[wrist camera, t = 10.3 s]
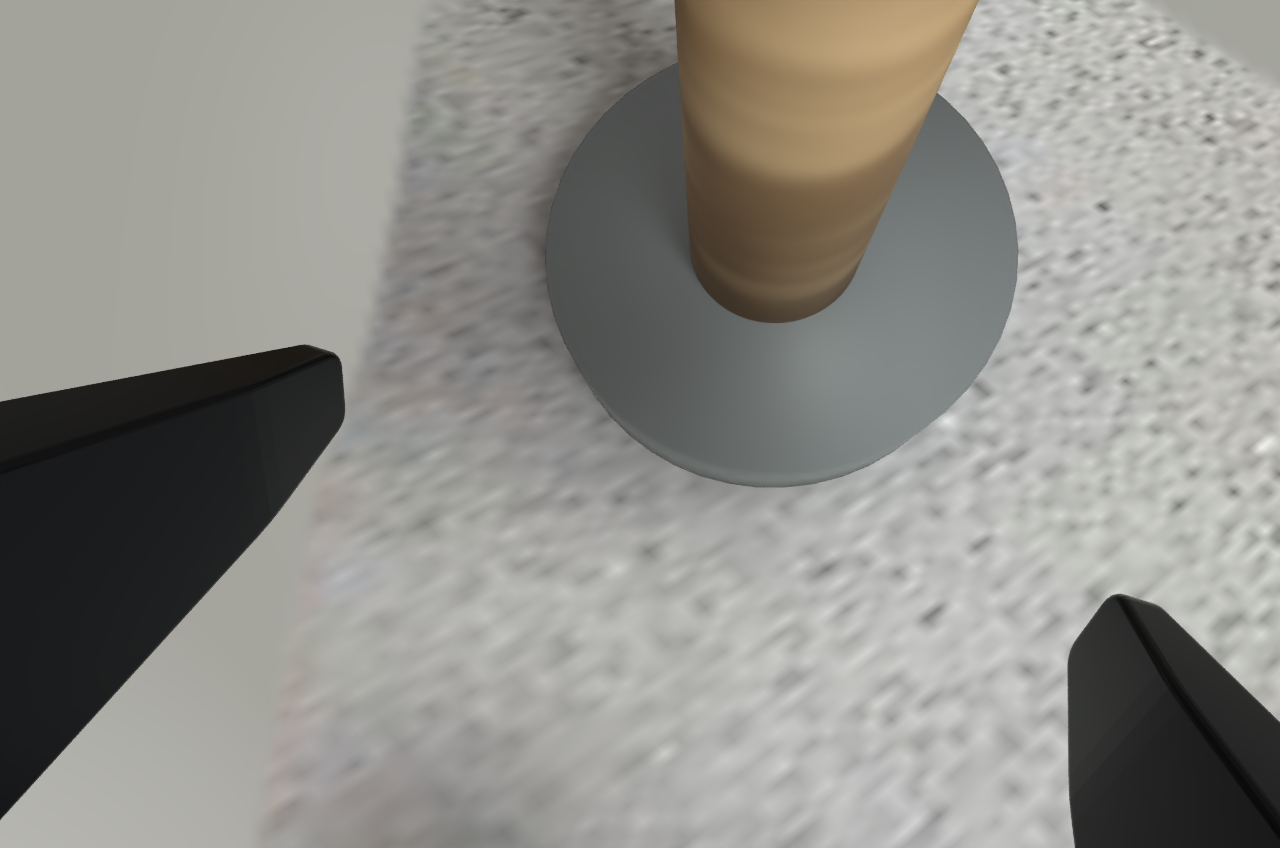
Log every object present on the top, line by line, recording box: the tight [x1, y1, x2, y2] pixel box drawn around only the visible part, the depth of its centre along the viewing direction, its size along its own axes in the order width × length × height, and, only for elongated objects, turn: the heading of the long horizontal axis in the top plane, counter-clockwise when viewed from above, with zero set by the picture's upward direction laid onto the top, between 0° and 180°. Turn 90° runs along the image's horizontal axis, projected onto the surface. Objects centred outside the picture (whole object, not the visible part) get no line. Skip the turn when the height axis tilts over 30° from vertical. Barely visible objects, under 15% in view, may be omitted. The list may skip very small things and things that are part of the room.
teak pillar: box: [675, 0, 979, 323], centre depth 12 cm, size 4×4×12 cm
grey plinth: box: [545, 63, 1018, 487], centre depth 19 cm, size 11×11×2 cm
